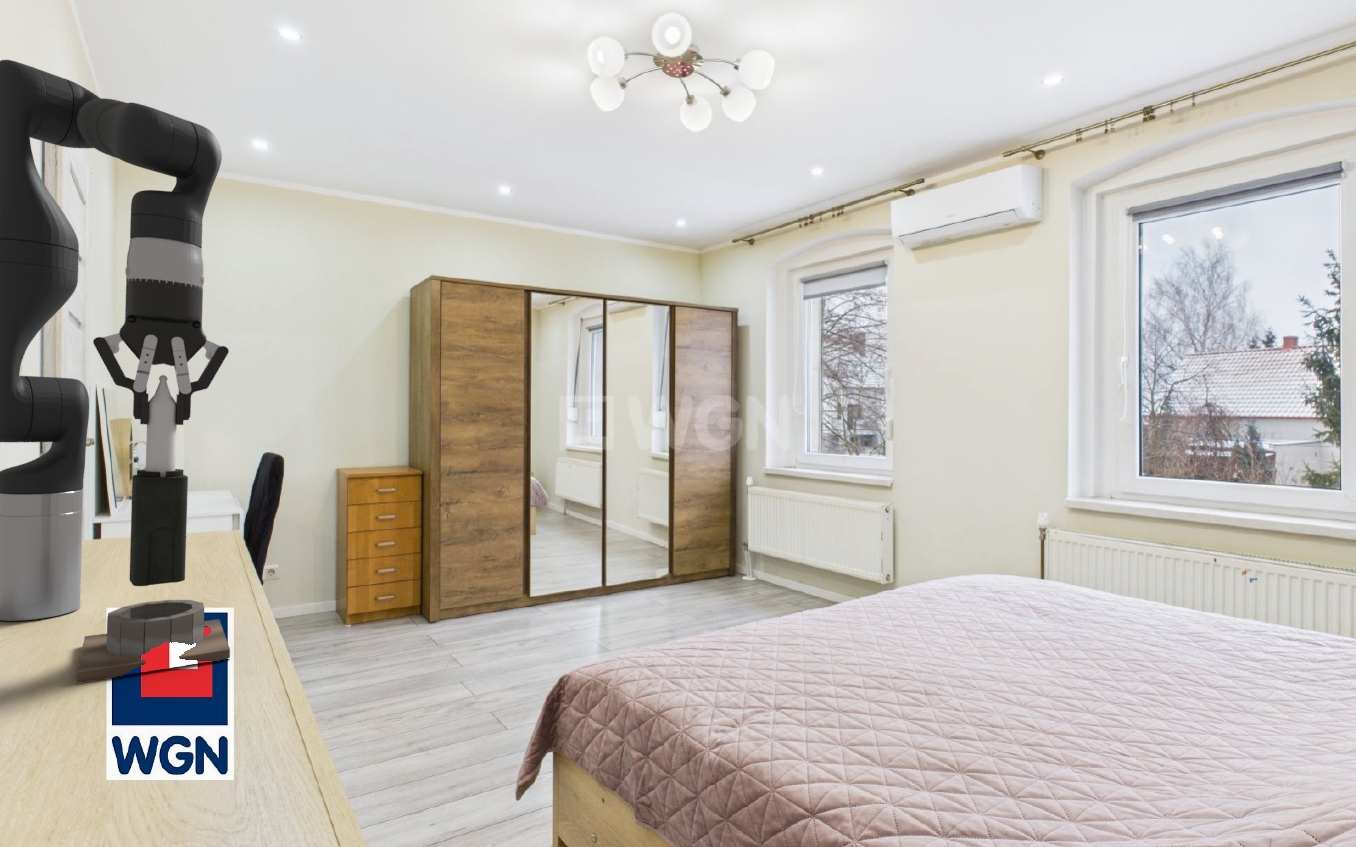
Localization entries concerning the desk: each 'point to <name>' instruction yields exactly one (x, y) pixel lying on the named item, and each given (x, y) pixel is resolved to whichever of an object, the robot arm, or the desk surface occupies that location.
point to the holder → (149, 637)
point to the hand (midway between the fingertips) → (161, 423)
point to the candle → (159, 500)
